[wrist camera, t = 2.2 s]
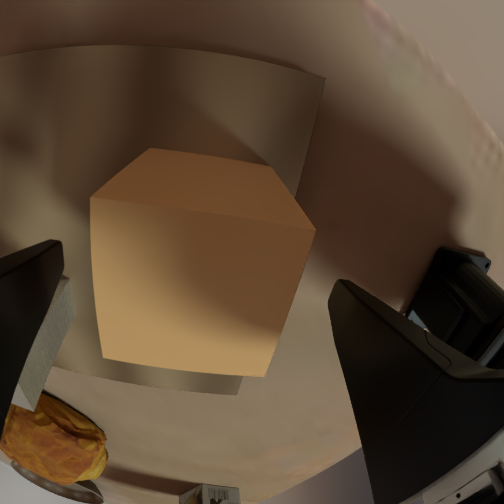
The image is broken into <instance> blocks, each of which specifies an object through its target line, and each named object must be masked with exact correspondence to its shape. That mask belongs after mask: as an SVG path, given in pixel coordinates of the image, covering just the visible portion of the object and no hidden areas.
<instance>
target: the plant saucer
mask: <svg viewBox="0 0 504 504" xmlns="http://www.w3.org/2000/svg"><path fill="white" fill-rule="evenodd" d="M11 466H12V467H13V469H14V470H15V471H16V472H18V473H19V474H20V475H22V476H23V477H24V478H26V479H27V480H29V481H30V482H32V483H34V484H35V485H37V486H39V487H41V488H43V489H45V490H48V491H49V492H52V493H54V494H57V495H59V496H62V497H65V498H68V499H71V500H75V501H78V502H83V503H89V504H103V503H104V502H105V500H104V498H103V496H102V494H101V493H100V491H99V490H98V488H97V487H96V485H95V484H94V483H93V482H91V481H90V480H83V481H77V482H74V483H72V484H71V485H61V484H57V483H55V482H53V481H50V480H48V479H46V478H44V477H42V476H39V475H37V474H36V473H34V472H32V471H30V470H27V469H25V468H24V467H22V466H21V465H19V464H17V463H16V462H14V461H12V462H11Z"/></svg>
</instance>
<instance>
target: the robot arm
mask: <svg viewBox="0 0 504 504" xmlns="http://www.w3.org/2000/svg"><path fill="white" fill-rule="evenodd" d="M442 255H443V256H442ZM64 265H65V264H64V254H63V245H62V242H61V241H60V240H54V239H49V240H46V241H43V242H41V243H38V244H35V245H32V246H30V247H27V248H24V249H22V250H19V251H17V252H14V253H11V254H9V255H6V256H4V257H1V258H0V441H1V437H2V433H3V429H4V426H5V422H6V421H5V420H6V418H7V415H8V411H9V408H10V405H11V402H12V399H13V396H14V393H15V390H16V387H17V384H18V381H19V378H20V376H21V373H22V370H23V368H24V365H25V362H26V360H27V357H28V355H29V352H30V350H31V348H32V345H33V343H34V340H35V338H36V336H37V334H38V331H39V329H40V327H41V325H42V323H43V320H44V318H45V316H46V314H47V312H48V310H49V307H50V305H51V302H52V300H53V297H54V294H55V291H56V289H57V286H58V284H59V281H60V279H61V276H62V274H63V271H64ZM490 265H491V260H489V259H488V258H487V257H484V256H480V255H476V254H472V253H468V252H464V251H460V250H456V249H452V248H448V247H441V248H440V249H438V251H437V253H436V255H435V257H434V259H433V261H432V264H431V266H430V268H429V270H428V272H427V274H426V276H425V278H424V280H423V282H422V284H421V286H420V288H419V290H418V292H417V294H416V296H415V298H414V300H413V302H412V303H411V305H410V307H409V309H408V311H407V313H406V314H405V316H404V315H402V314H401V313H399V312H397V311H396V310H394V309H393V308H391V307H390V306H388V305H387V304H385V303H384V302H382V301H381V300H379V299H378V298H376V297H375V296H373V295H371V294H370V293H368V292H367V291H365V290H364V289H362V288H361V287H359V286H357V285H356V284H354V283H353V282H351V281H350V280H344V279H338V280H337V281H336V282H335V285H334V287H333V289H332V292H331V294H330V297H329V300H328V309H329V314H330V320H331V326H332V331H333V337H334V342H335V346H336V350H337V353H338V357H339V360H340V364H341V367H342V371H343V374H344V378H345V382H346V385H347V389H348V393H349V396H350V400H351V404H352V408H353V412H354V416H355V420H356V424H357V428H358V432H359V436H360V440H361V444H362V448H363V452H364V455H365V462H366V466H367V471H368V475H369V480H370V484H371V489H372V494H373V499H374V504H410V503H413V502H415V501H418V500H420V499H423V502H424V504H504V290H503V289H502V288H501V287H500V286H499V285H497V284H496V283H495V282H494V281H493V280H492V279H491V278H490V277H489V276H488V275H487V272H488V270H489V268H490ZM423 328H427V330H428V331H429V332H428V331H426V330H424V329H423Z"/></svg>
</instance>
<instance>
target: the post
mask: <svg viewBox="0 0 504 504" xmlns="http://www.w3.org/2000/svg"><path fill="white" fill-rule="evenodd" d="M75 316H76V315H75V309H74V303H73V296H72V290H71V282H70V279H68V278H63V277H61V279H60V281H59V284H58V286H57V289H56V291H55V294H54V297H53V300H52V302H51V305H50V307H49V310H48V312H47V314H46V316H45V318H44V320H43V323H42V325H41V327H40V329H39V331H38V334H37V336H36V338H35V340H34V343H33V345H32V348H31V350H30V352H29V355H28V357H27V360H26V362H25V365H24V368H23V370H22V373H21V376H20V378H19V381H18V384H17V387H16V390H15V393H14V396H13V399H12V402H11V403H12V404H14V405H17V406H20V407H22V408H25V409H28V410H31V411H33V412H34V411H35V408H36V405H37V402H38V400H39V397H40V394H41V392H42V389H43V387H44V384H45V382H46V379H47V377H48V374H49V372H50V370H51V367H52V365H53V363H54V360H55V358H56V356H57V353H58V351H59V349H60V347H61V345H62V342H63V340H64V338H65V336H66V334H67V332H68V330H69V328H70V326H71V324H72V322H73V320H74V318H75Z"/></svg>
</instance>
